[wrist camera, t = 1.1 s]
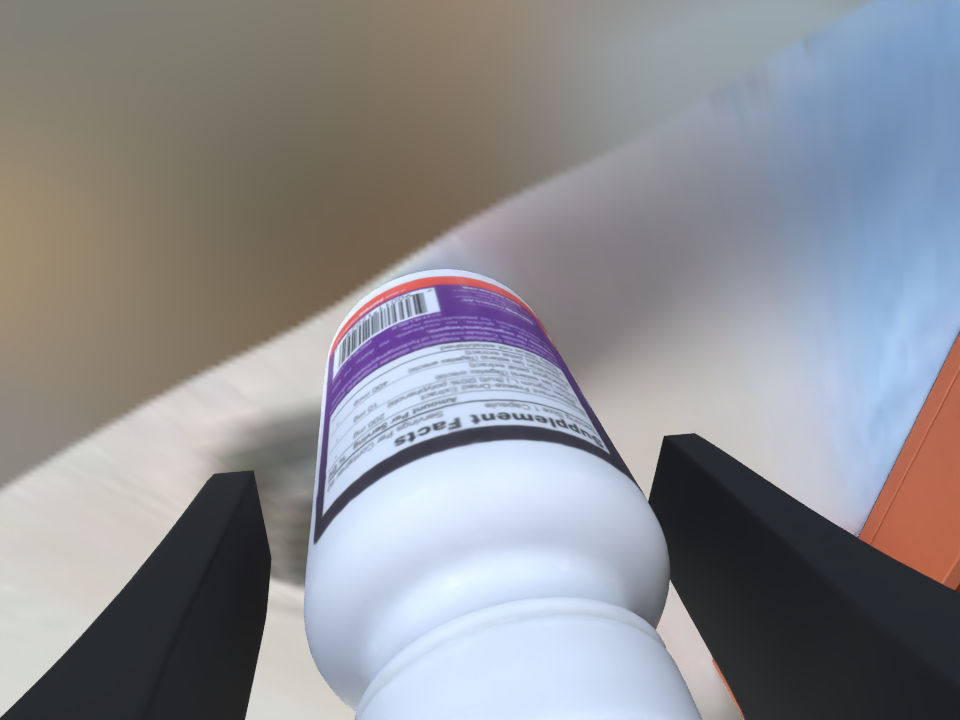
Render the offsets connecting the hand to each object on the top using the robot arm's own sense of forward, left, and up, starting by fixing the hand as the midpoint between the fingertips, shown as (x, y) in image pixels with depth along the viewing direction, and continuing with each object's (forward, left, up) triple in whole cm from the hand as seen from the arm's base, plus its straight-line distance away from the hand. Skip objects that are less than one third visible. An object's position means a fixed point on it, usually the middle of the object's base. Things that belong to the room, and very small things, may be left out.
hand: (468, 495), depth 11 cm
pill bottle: (0, 0, -5) cm, 5 cm away
